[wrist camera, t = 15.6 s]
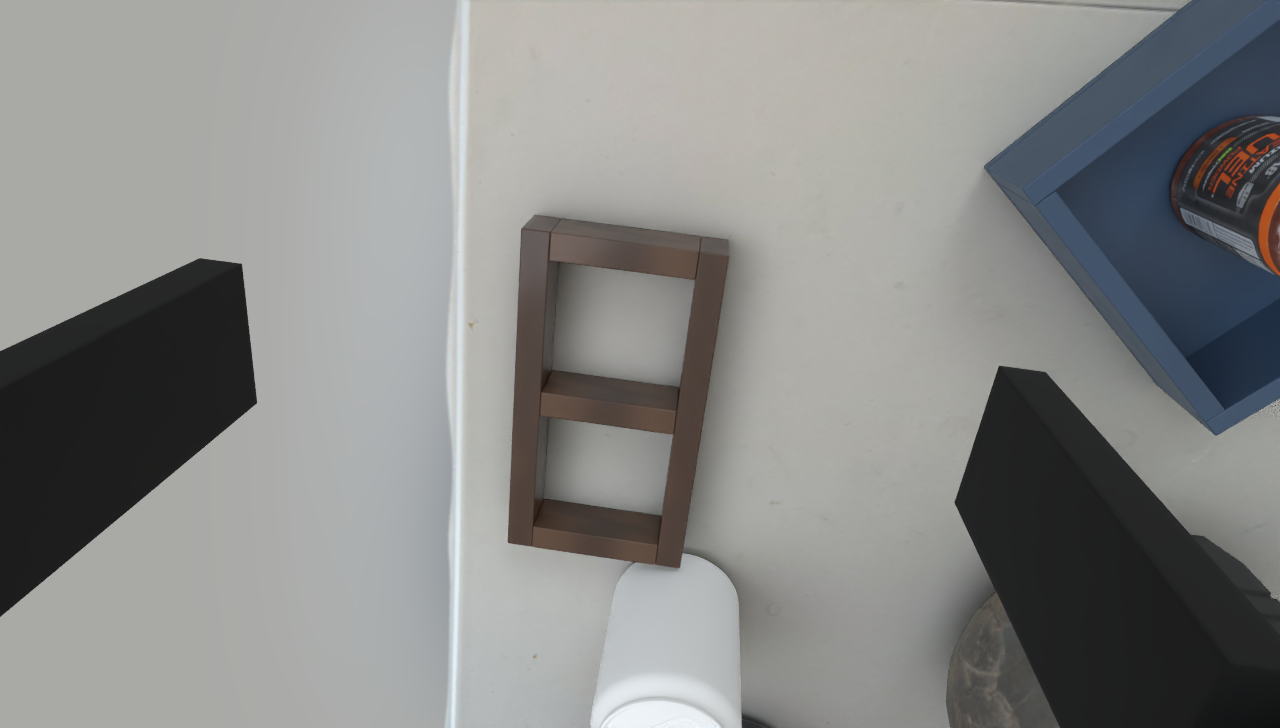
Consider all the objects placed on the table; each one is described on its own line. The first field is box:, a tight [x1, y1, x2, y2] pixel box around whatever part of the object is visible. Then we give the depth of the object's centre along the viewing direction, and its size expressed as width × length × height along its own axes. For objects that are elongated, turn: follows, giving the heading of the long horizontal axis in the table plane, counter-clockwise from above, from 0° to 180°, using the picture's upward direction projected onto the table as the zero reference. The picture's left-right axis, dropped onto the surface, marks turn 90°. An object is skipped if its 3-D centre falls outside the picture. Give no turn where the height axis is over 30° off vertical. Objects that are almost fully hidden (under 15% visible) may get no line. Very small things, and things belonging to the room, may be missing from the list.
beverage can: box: [591, 553, 742, 728], centre depth 46 cm, size 8×8×12 cm
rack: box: [508, 215, 729, 568], centre depth 45 cm, size 10×20×3 cm, turn 174°
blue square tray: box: [984, 0, 1280, 435], centre depth 36 cm, size 16×16×6 cm
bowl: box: [946, 592, 1060, 728], centre depth 44 cm, size 18×18×13 cm
